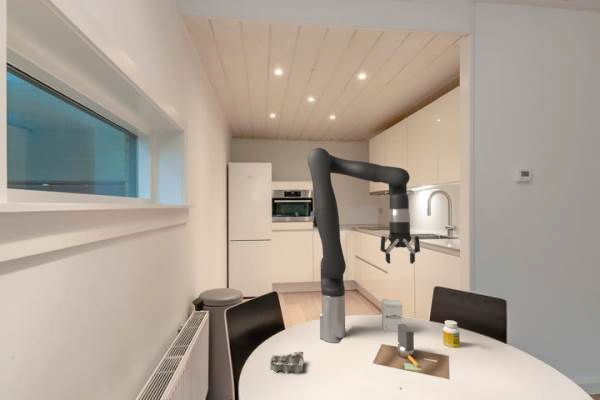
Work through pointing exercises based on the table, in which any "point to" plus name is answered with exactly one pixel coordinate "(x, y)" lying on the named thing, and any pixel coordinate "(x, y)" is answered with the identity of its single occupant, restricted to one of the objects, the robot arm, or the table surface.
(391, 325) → the supplement box
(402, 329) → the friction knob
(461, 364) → the table surface
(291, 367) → the egg carton
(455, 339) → the supplement bottle
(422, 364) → the brown flat board
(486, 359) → the table surface
